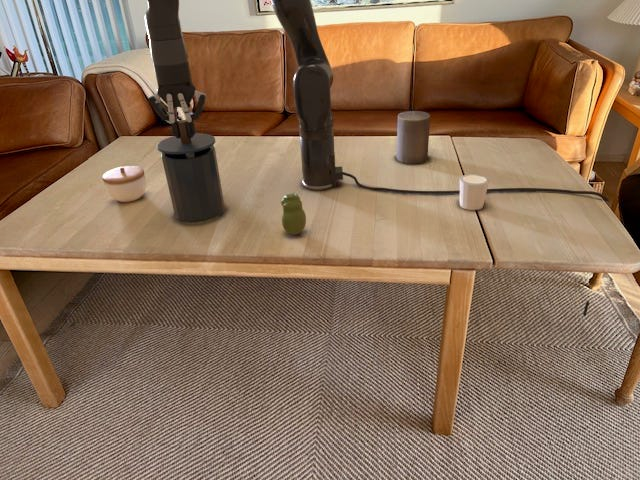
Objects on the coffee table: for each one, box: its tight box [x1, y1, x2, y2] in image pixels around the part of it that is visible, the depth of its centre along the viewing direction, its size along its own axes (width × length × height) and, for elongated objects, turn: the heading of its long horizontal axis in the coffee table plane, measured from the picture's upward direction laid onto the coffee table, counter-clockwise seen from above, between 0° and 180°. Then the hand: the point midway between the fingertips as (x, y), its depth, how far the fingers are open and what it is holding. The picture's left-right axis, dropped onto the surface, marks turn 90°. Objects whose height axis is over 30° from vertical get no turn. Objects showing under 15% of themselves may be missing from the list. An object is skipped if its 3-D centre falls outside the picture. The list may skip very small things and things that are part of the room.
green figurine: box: [280, 192, 307, 235], centre depth 109 cm, size 6×5×10 cm
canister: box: [160, 145, 226, 224], centre depth 119 cm, size 13×13×17 cm
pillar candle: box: [396, 110, 431, 165], centre depth 145 cm, size 10×10×15 cm
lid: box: [156, 119, 216, 154], centre depth 113 cm, size 14×14×6 cm
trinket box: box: [101, 165, 147, 203], centre depth 131 cm, size 11×11×9 cm
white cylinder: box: [459, 173, 490, 211], centre depth 118 cm, size 7×7×7 cm
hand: (185, 136), depth 113 cm, fingers closed on lid, 2 cm apart
